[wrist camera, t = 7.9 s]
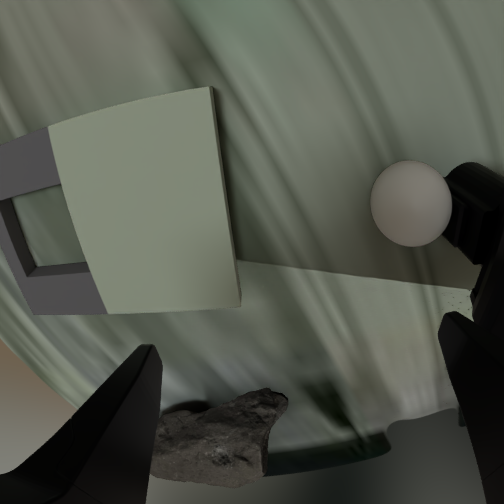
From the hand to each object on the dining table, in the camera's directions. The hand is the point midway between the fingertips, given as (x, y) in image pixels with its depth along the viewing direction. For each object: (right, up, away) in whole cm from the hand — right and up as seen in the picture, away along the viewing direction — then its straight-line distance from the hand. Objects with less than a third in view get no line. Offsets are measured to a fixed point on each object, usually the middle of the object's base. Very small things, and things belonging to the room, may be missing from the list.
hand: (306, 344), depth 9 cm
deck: (-12, +5, +11) cm, 17 cm away
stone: (-8, -13, +21) cm, 26 cm away
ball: (+8, +5, +8) cm, 12 cm away
